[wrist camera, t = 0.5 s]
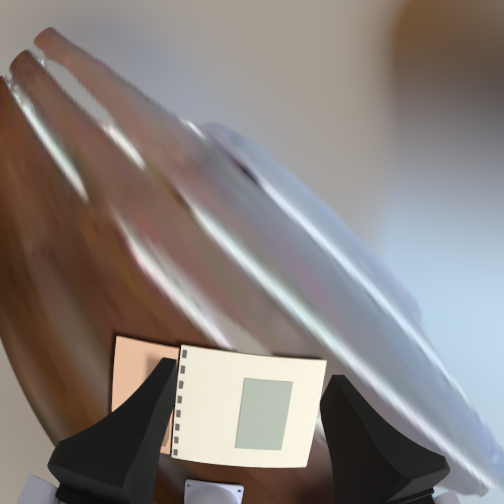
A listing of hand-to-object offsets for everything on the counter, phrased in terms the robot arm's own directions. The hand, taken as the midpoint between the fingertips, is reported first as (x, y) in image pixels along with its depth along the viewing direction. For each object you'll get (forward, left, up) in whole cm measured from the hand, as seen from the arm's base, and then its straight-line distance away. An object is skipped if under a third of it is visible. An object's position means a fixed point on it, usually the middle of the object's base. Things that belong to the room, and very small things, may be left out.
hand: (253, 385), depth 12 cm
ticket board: (-10, -3, -23) cm, 25 cm away
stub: (-10, +10, -23) cm, 27 cm away
